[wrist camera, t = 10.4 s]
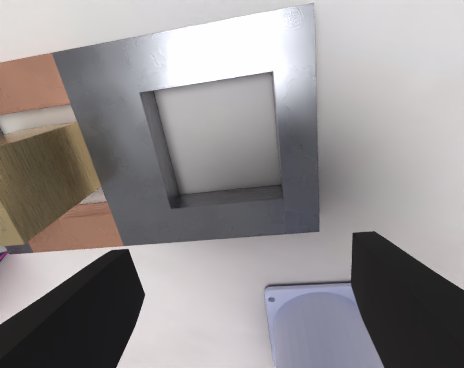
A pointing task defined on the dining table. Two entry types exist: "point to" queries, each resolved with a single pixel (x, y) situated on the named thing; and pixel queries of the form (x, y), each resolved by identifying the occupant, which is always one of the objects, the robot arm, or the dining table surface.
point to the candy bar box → (2, 251)
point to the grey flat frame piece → (152, 136)
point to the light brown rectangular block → (41, 179)
